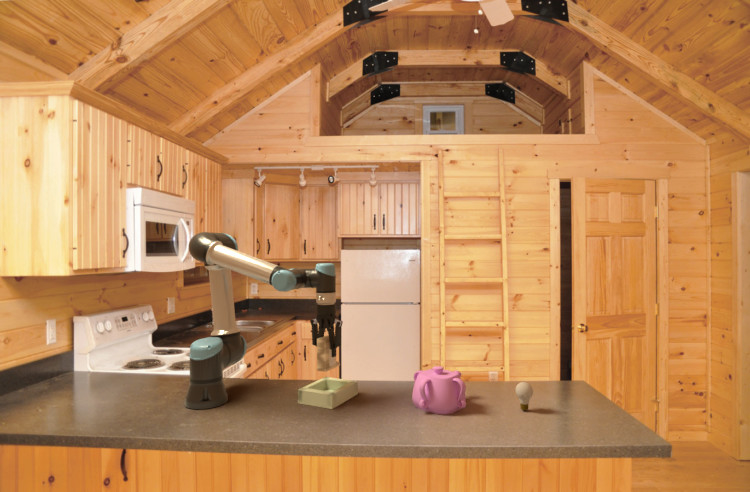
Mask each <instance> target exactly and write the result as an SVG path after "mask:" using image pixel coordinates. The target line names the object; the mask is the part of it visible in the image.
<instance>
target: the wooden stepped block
mask: <svg viewBox="0 0 750 492" xmlns="http://www.w3.org/2000/svg"><path fill="white" fill-rule="evenodd" d="M330 348H331V346H330V340H329V335H324V337H321V338H318V339H317V347H316V371H317V372H325V373H326V372H329V371H332V370H333V369H335V368H338V367H340V366H341V361H338V360H337V356H336V357H335V365H333V366H329V349H330Z"/></svg>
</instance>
